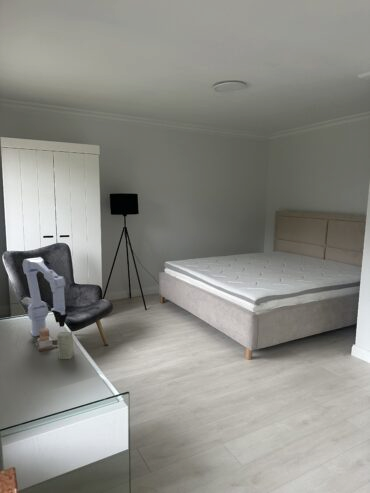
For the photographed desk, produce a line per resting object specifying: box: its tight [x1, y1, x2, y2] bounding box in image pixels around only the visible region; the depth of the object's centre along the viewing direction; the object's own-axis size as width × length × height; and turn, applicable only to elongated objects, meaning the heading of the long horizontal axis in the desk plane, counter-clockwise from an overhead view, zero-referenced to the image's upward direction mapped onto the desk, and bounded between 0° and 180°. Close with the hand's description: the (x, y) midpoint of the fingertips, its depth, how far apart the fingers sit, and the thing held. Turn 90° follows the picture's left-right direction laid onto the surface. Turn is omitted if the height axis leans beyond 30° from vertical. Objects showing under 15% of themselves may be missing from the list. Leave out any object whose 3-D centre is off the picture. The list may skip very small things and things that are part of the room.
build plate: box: [34, 335, 58, 352], centre depth 181 cm, size 10×11×4 cm
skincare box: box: [56, 331, 75, 360], centre depth 167 cm, size 6×4×12 cm
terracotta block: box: [39, 327, 50, 341], centre depth 179 cm, size 4×4×5 cm
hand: (60, 324), depth 183 cm, fingers open, 7 cm apart
